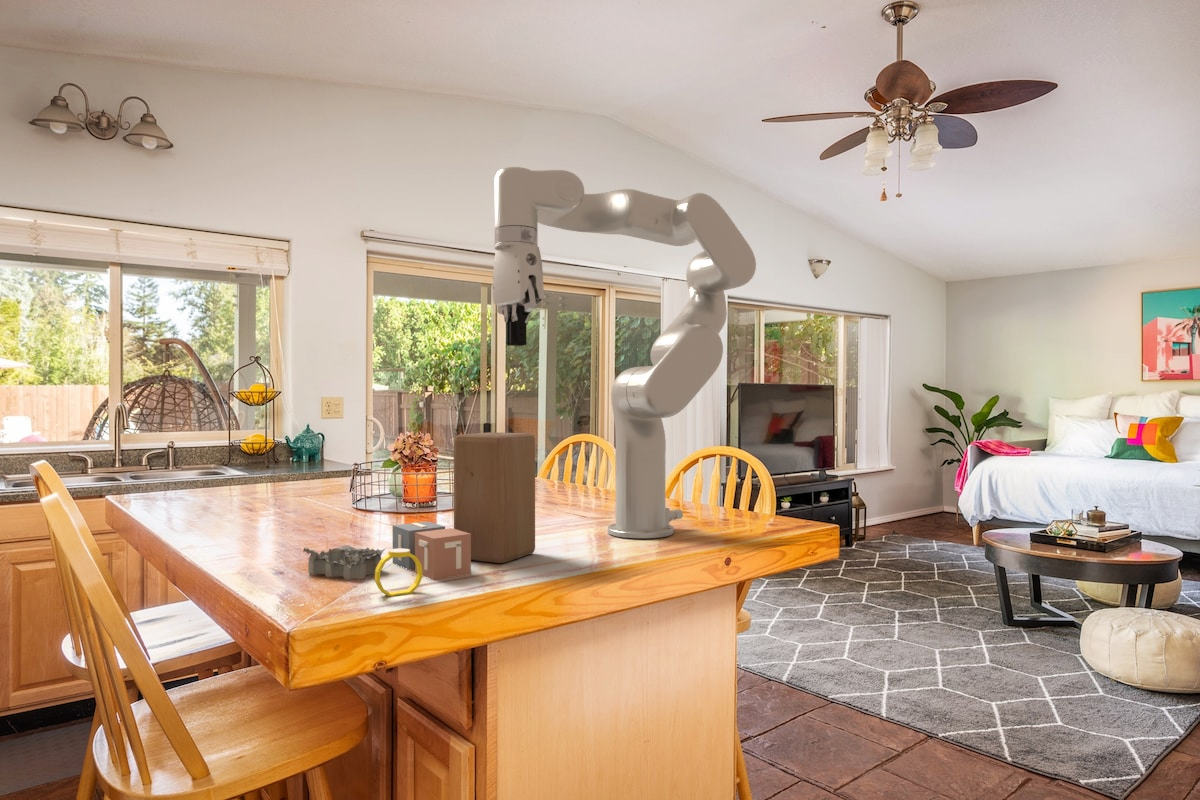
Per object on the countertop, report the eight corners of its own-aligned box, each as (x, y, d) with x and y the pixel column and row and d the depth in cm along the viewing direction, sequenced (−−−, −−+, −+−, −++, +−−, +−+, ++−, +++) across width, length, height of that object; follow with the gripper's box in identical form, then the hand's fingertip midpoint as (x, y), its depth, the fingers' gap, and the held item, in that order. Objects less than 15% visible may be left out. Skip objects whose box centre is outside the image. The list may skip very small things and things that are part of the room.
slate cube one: (427, 558, 121) (427, 520, 121) (445, 565, 116) (445, 525, 116) (391, 563, 117) (391, 524, 117) (408, 571, 112) (408, 529, 112)
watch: (416, 591, 102) (419, 547, 102) (423, 596, 99) (426, 551, 99) (372, 594, 99) (375, 548, 99) (377, 599, 96) (380, 552, 96)
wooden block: (451, 559, 120) (451, 434, 120) (488, 548, 129) (488, 431, 129) (502, 565, 115) (502, 436, 115) (537, 553, 124) (537, 433, 124)
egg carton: (299, 575, 111) (299, 547, 111) (338, 565, 117) (338, 539, 117) (352, 583, 106) (352, 554, 106) (390, 571, 112) (389, 544, 112)
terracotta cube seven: (451, 567, 115) (451, 528, 115) (471, 574, 110) (471, 533, 110) (413, 573, 111) (413, 532, 111) (433, 581, 106) (432, 539, 106)
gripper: (558, 236, 128) (558, 344, 128) (511, 250, 140) (511, 348, 140) (521, 230, 123) (521, 342, 124) (476, 244, 135) (476, 346, 135)
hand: (516, 345), depth 132 cm, fingers closed
